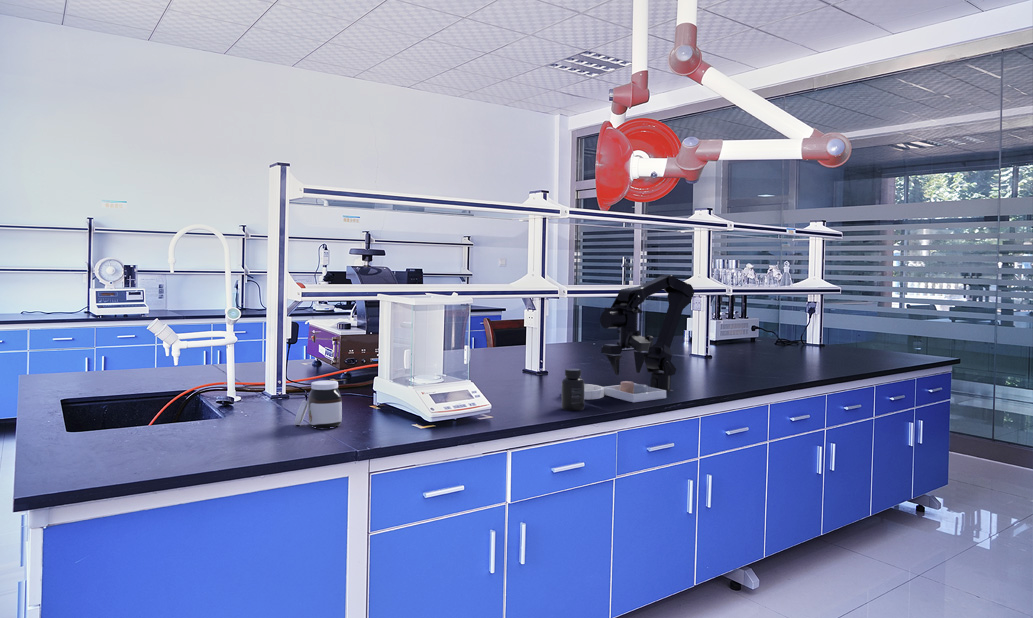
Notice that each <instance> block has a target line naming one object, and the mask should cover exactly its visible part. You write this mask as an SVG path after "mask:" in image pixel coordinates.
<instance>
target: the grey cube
mask: <svg viewBox="0 0 1033 618" xmlns="http://www.w3.org/2000/svg"><path fill="white" fill-rule="evenodd" d="M635 384H636V385H634V394H639V393H647V392H648V387H649V386H648V384H643V383H640V384H639V383H635Z"/></svg>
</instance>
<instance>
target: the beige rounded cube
mask: <svg viewBox="0 0 1033 618" xmlns="http://www.w3.org/2000/svg"><path fill="white" fill-rule="evenodd" d="M634 383H635V382H634V381H630V380H629V381H628V380H625V381H620V385H621V388H620V391H623V392H627V393H631V394H634Z"/></svg>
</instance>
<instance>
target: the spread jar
mask: <svg viewBox="0 0 1033 618" xmlns="http://www.w3.org/2000/svg"><path fill="white" fill-rule="evenodd" d="M310 384H311V385H310V388H311V390H310V391H309V394H308V399H307V400H304V399H303V400H302V401H301V403H300V405H299V407H298V410H297V412H296V416H295V419H294V422H293V425H294V426H296V425H300V423H301V422H303V420H304V418H305V416H306V413H307V410H308V417H307V418H308V423H309V425H311V426H313V427H316V428H330V427H336V426H338V427H339V426H340V425H341V424H342V420H343V418H342V417H343V416H342V415H343V409H342V407H343V405H342V403H343V401H342V400H343V399H342V396H341V393H340V390H339V389H338V388H339V382H338V381H337V380H330V379H329V380H326V379H325V380H315V381H312V382H311V383H310ZM301 424H302V423H301ZM300 426H301V425H300ZM311 426H310V427H311ZM336 428H337V427H336Z"/></svg>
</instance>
